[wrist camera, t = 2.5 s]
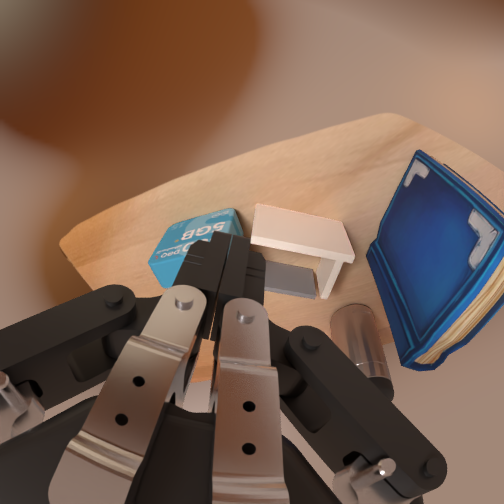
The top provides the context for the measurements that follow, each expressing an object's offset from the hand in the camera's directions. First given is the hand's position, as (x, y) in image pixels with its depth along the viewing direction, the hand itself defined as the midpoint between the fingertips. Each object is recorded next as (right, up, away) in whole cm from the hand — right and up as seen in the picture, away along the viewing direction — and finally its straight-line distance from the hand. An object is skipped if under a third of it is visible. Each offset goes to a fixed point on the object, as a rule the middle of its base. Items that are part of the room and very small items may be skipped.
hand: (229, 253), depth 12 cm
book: (+26, +7, +32) cm, 42 cm away
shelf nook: (+7, +1, +38) cm, 39 cm away
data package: (-7, +4, +37) cm, 38 cm away
